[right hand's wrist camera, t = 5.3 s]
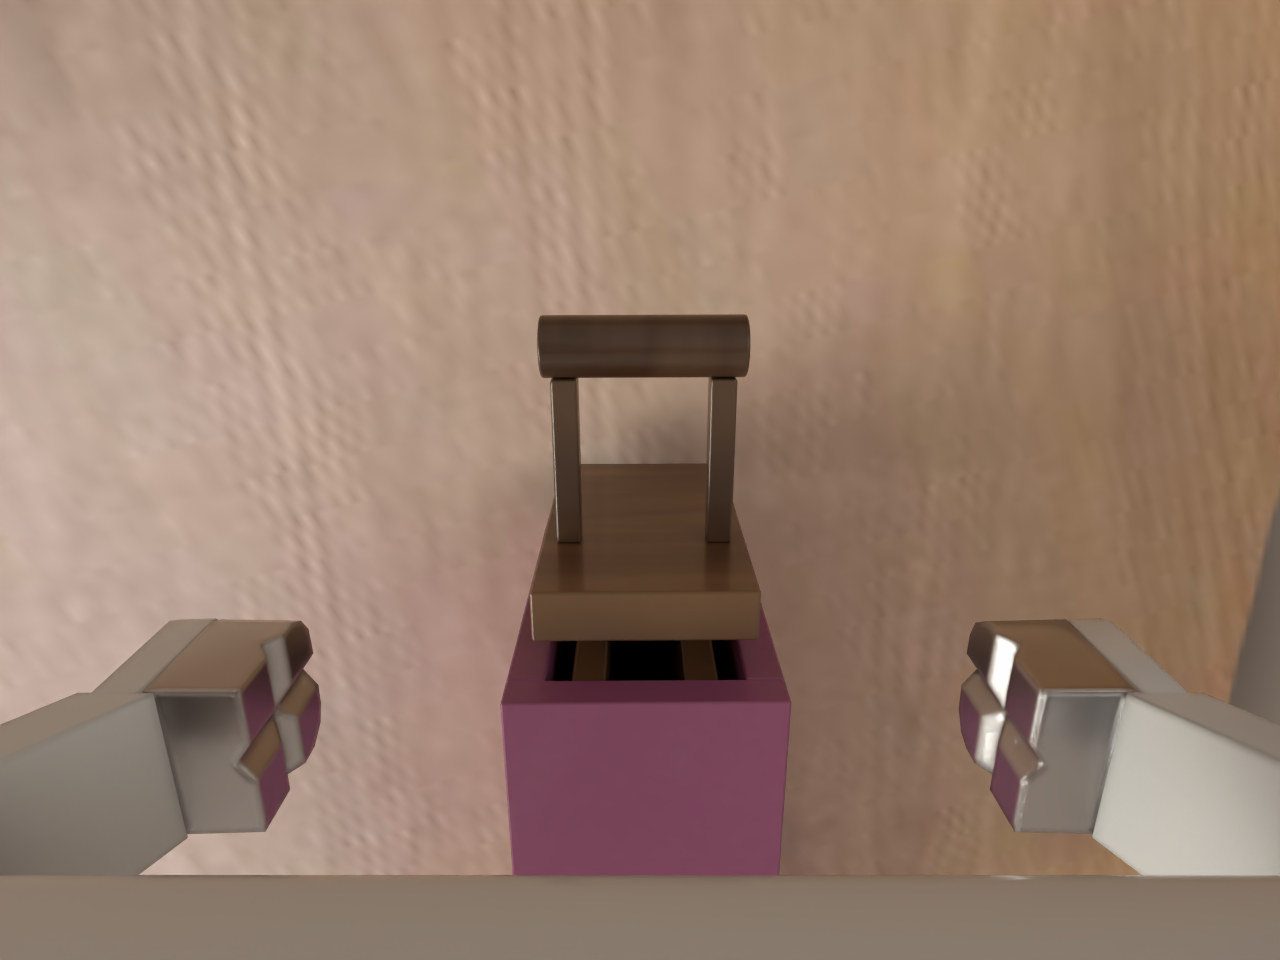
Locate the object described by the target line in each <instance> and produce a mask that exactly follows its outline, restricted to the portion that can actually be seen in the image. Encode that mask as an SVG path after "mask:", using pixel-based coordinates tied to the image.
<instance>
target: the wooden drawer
mask: <svg viewBox="0 0 1280 960" xmlns="http://www.w3.org/2000/svg"><path fill="white" fill-rule="evenodd" d="M537 349H538V364H539V371H540V375H541V377H543V378H552V379H551V382H550V390H551V415H552V439H553V463H554V487H555V496H554V500H553V504H552V508H551V512H550V516H549V520H548V524H547V528H546V532H545V536H544V540H543V544H542V548H541V551H540V555H539V559H538V563H537V567H536V571H535V575H534V579H533V583H532V587H531V591H530V612H531V630H532V639H533V641H576V648H575V656H574V664H573V672H572V680H571V681H648V680H719V679H718V673H717V667H716V661H715V655H714V650H713V644H712V640H757V639H758V637H759V620H760V602H761V592H760V589H759V585H758V582H757V579H756V576H755V572H754V569H753V566H752V563H751V559H750V556H749V553H748V550H747V546H746V543H745V540H744V537H743V534H742V530H741V527H740V524H739V521H738V517H737V514H736V511H735V508H734V504H733V480H734V454H735V429H736V403H737V379H736V378H735V377H745V376H746V375H747V372H748V368H749V360H750V326H749V320H748V317H747V315H542V316H540V318H539V322H538V333H537ZM631 377H709V389H708V427H707V464H581V455H580V421H579V387H578V378H631Z"/></svg>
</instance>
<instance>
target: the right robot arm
mask: <svg viewBox="0 0 1280 960" xmlns="http://www.w3.org/2000/svg"><path fill="white" fill-rule="evenodd" d="M312 654H313V650H312V645H311V640H310V635H309V630H308V628H307V627H306V626H305V625H304V624H303V623H302V622H301V621H277V620H224V619H222V620H217V619H181V620H173V621H169V622H168V623H167V624H166V625H165V626H164V627H163V628H162V629H161V630H159V631H158V632H157V633H156V634H155V635H154V636H153V637H152V638H151V639H150V640H149V641H147V642H146V643H145V644H144V645H143V646H142V647H141V648H140V649H139V650H138V651H137V652H135V653H134V654H133V655H132V656H131V657H130V658H129V659H128V660H127V661H126V662H125V663H123V664H122V665H121V666H120V667H119V668H118V669H117V670H116V671H115V672H114V673H113V674H111V675H110V676H109V677H108V678H107V679H106V680H105V681H104V682H103V683H102V684H101V685H99V686H98V687H97V688H96V689H95V690H94V691H93V692H92V693H76V694H74V695H71V696H69V697H67V698H64V699H62V700H59V701H57V702H54V703H52V704H50V705H47V706H45V707H42V708H40V709H38V710H35V711H33V712H30V713H28V714H25V715H23V716H21V717H18V718H16V719H13V720H11V721H8V722H6V723H4V724H1V725H0V960H1280V725H1279V724H1276V723H1274V722H1271V721H1269V720H1267V719H1264V718H1262V717H1259V716H1257V715H1254V714H1252V713H1250V712H1247V711H1245V710H1242V709H1240V708H1238V707H1235V706H1233V705H1230V704H1228V703H1225V702H1223V701H1221V700H1218V699H1216V698H1213V697H1211V696H1209V695H1206V694H1204V693H1188V692H1187V691H1186V690H1185V689H1184V688H1183V687H1182V686H1181V685H1180V684H1178V683H1177V682H1176V681H1175V680H1174V679H1173V678H1172V677H1171V676H1170V675H1169V674H1168V673H1166V672H1165V671H1164V670H1163V669H1162V668H1161V667H1160V666H1159V665H1158V664H1157V663H1156V662H1154V661H1153V660H1152V659H1151V658H1150V657H1149V656H1148V655H1147V654H1146V653H1145V652H1144V651H1143V650H1141V649H1140V648H1139V647H1138V646H1137V645H1136V644H1135V643H1134V642H1133V641H1132V640H1131V639H1129V638H1128V637H1127V636H1126V635H1125V634H1124V633H1123V632H1122V631H1121V630H1120V629H1119V628H1118V627H1116V626H1115V625H1114V624H1113V623H1112V622H1110V621H1107V620H1104V619H1100V618H1098V619H1074V620H1066V619H1065V620H1024V621H985V622H978V623H975V625H974V627H973V630H972V632H971V634H970V638H969V644H968V649H967V654H968V656H969V657H970V659H971V661H972V662H973V664H974V665H975V667H976V668H977V670H976V671H975V672H974V673H973V674H972V675H971V676H970V677H969V678H968V679H967V680H966V681H965V682H964V683H963V684H962V687H961V696H960V704H959V715H960V725H961V733H962V736H963V739H964V742H965V745H966V748H967V750H968V752H969V753H970V755H971V757H972V759H973V761H974V763H976V764H977V765H979V766H981V767H982V768H984V769H985V770H987V771H988V772H990V773H992V774H993V775H992V780H991V786H990V790H991V792H992V794H993V795H994V797H995V799H996V800H997V802H998V804H999V806H1000V807H1001V809H1002V811H1003V812H1004V814H1005V816H1006V817H1007V819H1008V821H1009V823H1010V824H1011V826H1012V828H1013V829H1014V831H1015V832H1040V833H1076V834H1093V836H1092V838H1094V839H1095V840H1096V841H1098V842H1099V843H1100V844H1102V845H1103V846H1104V847H1106V848H1107V849H1108V850H1110V851H1111V852H1112V853H1114V854H1115V855H1116V856H1118V857H1119V858H1120V859H1121V860H1123V861H1124V862H1125V863H1127V864H1128V865H1129V866H1131V867H1132V868H1133V869H1135V870H1136V871H1137V872H1139V873H1140V874H1141V875H139V874H140V873H142V872H143V871H144V870H146V869H147V868H148V867H150V866H151V865H152V864H154V863H155V862H156V861H157V860H159V859H160V858H161V857H163V856H164V855H165V854H167V853H168V852H169V851H171V850H172V849H173V848H175V847H176V846H177V845H179V844H180V843H181V842H183V841H184V840H185V839H187V837H188V836H187V834H203V833H238V832H265V831H266V830H267V828H268V826H269V824H270V823H271V821H272V819H273V818H274V816H275V814H276V812H277V811H278V809H279V807H280V806H281V804H282V802H283V801H284V799H285V797H286V795H287V794H288V792H289V790H290V786H289V780H288V775H287V774H288V773H290V772H292V771H293V770H295V769H296V768H298V767H299V766H301V765H303V764H304V763H306V761H307V759H308V757H309V755H310V753H311V751H312V750H313V748H314V746H315V742H316V738H317V734H318V730H319V726H320V716H321V701H320V694H319V687H318V684H317V683H316V682H315V681H314V680H313V679H312V678H311V677H310V676H309V675H308V674H307V673H306V672H305V671H304V670H303V668H304V667H305V665H306V664H307V662H308V661H309V659H310V657H311V656H312Z"/></svg>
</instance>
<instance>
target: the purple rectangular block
mask: <svg viewBox="0 0 1280 960" xmlns="http://www.w3.org/2000/svg"><path fill="white" fill-rule="evenodd" d="M548 520H549V519H548ZM547 524H548V522H547ZM546 528H547V526H546ZM545 532H546V529H545ZM544 536H545V533H544ZM543 540H544V537H543ZM542 544H543V541H542ZM541 548H542V545H541ZM540 551H541V549H540ZM539 555H540V553H539ZM538 559H539V557H538ZM537 563H538V560H537ZM536 567H537V564H536ZM535 571H536V568H535ZM534 575H535V572H534ZM533 579H534V576H533ZM532 583H533V580H532ZM531 587H532V584H531ZM530 591H531V588H530ZM712 644H713V650H714V655H715V661H716V667H717V673H718V679H719V680H648V681H571V680H572V672H573V664H574V656H575V648H576V641H533V639H532V630H531V612H530V592H529V596H528V599H527V603H526V607H525V611H524V615H523V619H522V623H521V627H520V631H519V634H518V638H517V642H516V646H515V650H514V654H513V658H512V662H511V666H510V670H509V673H508V677H507V682H506V685H505V689H504V693H503V697H502V700H501V704H500V705H501V719H502V733H503V746H504V760H505V774H506V787H507V801H508V815H509V829H510V842H511V856H512V870H513V875H779V866H780V852H781V838H782V824H783V810H784V796H785V782H786V768H787V754H788V741H789V727H790V713H791V700H790V697H789V694H788V690H787V687H786V684H785V681H784V678H783V674H782V671H781V668H780V664H779V661H778V658H777V654H776V651H775V648H774V645H773V641H772V638H771V635H770V631H769V628H768V625H767V621H766V618H765V615H764V611H763V608H762V605H761V602H760V620H759V637H758V639H757V640H712Z"/></svg>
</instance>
